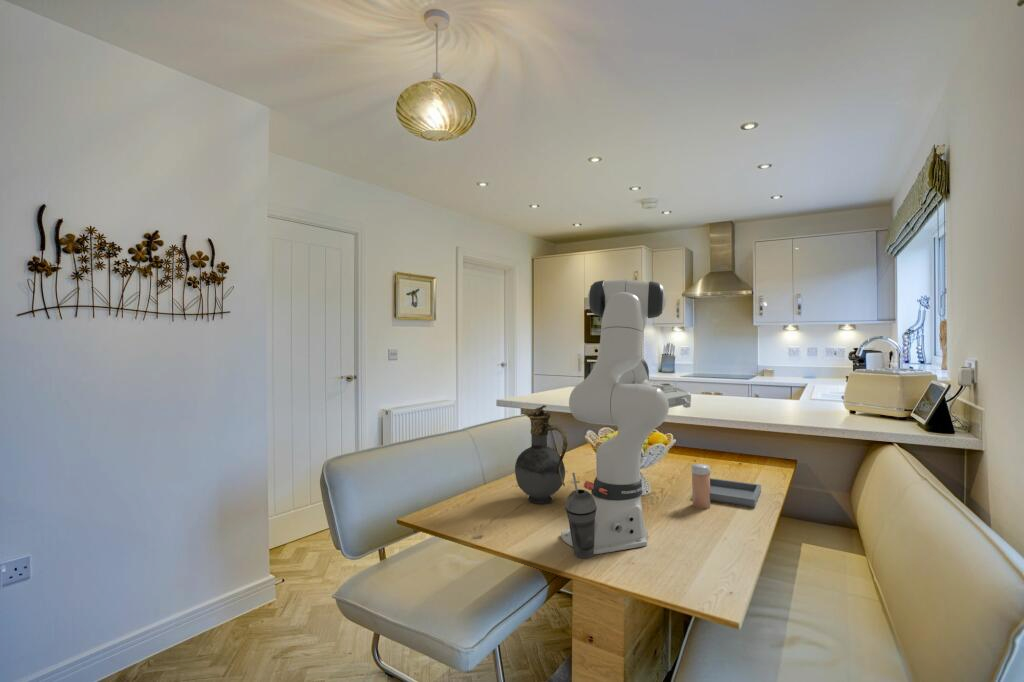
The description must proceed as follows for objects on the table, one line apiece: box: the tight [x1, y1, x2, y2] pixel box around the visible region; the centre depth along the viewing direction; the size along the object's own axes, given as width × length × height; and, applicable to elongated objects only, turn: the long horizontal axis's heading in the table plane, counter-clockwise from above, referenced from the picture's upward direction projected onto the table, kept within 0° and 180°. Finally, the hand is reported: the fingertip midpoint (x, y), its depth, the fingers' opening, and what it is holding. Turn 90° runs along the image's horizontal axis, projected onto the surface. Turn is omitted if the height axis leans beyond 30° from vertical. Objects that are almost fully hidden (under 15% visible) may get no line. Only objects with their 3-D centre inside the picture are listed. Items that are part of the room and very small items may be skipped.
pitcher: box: [514, 405, 569, 505], centre depth 152 cm, size 11×19×30 cm, turn 43°
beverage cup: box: [564, 472, 597, 560], centre depth 113 cm, size 7×7×20 cm
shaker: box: [691, 463, 711, 510], centre depth 146 cm, size 5×5×12 cm
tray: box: [710, 477, 762, 509], centre depth 156 cm, size 17×17×2 cm
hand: (676, 407), depth 155 cm, fingers open, 8 cm apart
